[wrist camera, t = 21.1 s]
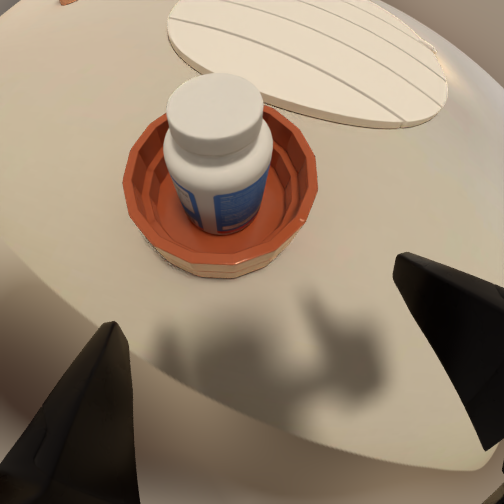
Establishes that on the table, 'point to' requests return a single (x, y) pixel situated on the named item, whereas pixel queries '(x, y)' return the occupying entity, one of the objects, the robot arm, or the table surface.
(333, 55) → the round slatted board
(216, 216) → the pill bottle
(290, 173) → the bowl
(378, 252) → the table surface
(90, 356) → the robot arm
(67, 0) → the salt shaker
